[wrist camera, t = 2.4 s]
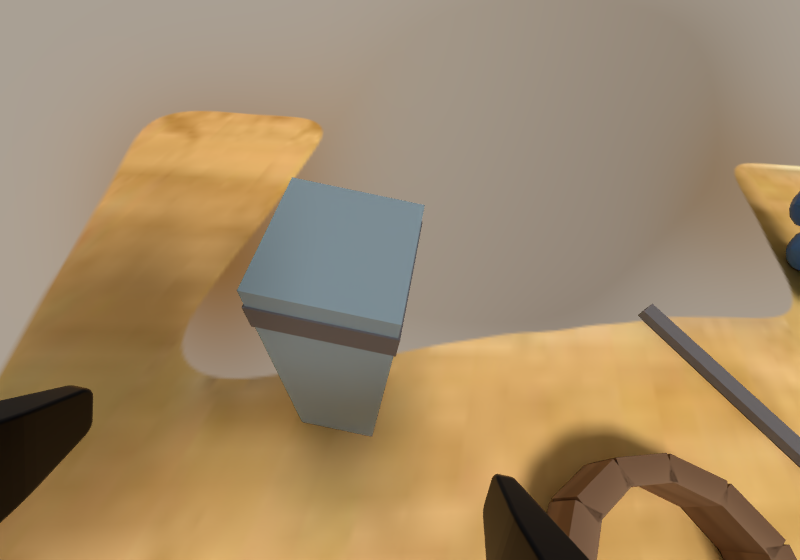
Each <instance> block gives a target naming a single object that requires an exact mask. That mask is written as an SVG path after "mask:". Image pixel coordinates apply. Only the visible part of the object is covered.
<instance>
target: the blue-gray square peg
mask: <svg viewBox="0 0 800 560" xmlns="http://www.w3.org/2000/svg"><path fill="white" fill-rule="evenodd" d="M423 211H424V205H421V204H416V203H412V202H407V201H402V200H398V199H392V198H387V197H383V196H378V195H374V194H369V193H364V192H359V191H354V190H349V189H345V188H340V187H335V186H331V185H325V184H321V183H316V182H312V181H307V180H302V179H297V178H292V179H291V181H290V183H289V185H288V187H287V189H286V191H285V193H284V195H283V197H282V199H281V201H280V203H279V205H278V208H277V210H276V212H275V214H274V216H273V218H272V220H271V222H270V224H269V226H268V228H267V230H266V232H265V234H264V236H263V238H262V240H261V242H260V244H259V246H258V248H257V251H256V253H255V255H254V257H253V259H252V261H251V263H250V265H249V267H248V269H247V271H246V273H245V275H244V277H243V279H242V282H241V283H240V285H239V287H238V289H237V292H238V294H239V296H240V298H241V300H242V302H243V306H242V309H243V311H244V313H245V315H246V317H247V319H248V321H249V323H250V325H251V326H252V327H255V328H256V330H257V332H258V334H259V336H260V338H261V340H262V342H263V344H264V346H265V348H266V350H267V352H268V354H269V356H270V358H271V360H272V362H273V364H274V366H275V368H276V370H277V372H278V374H279V376H280V378H281V380H282V382H283V384H284V386H285V388H286V390H287V392H288V394H289V396H290V398H291V400H292V402H293V404H294V407H295V409H296V411H297V413H298V415H299V417H300V419H301V421H302V422H305V423H310V424H314V425H319V426H324V427H329V428H334V429H338V430H343V431H348V432H353V433H357V434H362V435H367V436H372V435H373V431H374V427H375V424H376V420H377V416H378V412H379V408H380V405H381V401H382V397H383V393H384V390H385V386H386V382H387V378H388V375H389V371H390V367H391V363H392V359H393V356H396V353H397V349H398V345H399V342H400V337H401V332H402V327H403V322H404V316H405V311H406V305H407V300H408V295H409V290H410V285H411V279H412V274H413V269H414V263H415V258H416V253H417V248H418V242H419V237H420V232H421V227H422V216H423Z"/></svg>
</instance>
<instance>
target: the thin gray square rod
mask: <svg viewBox="0 0 800 560" xmlns="http://www.w3.org/2000/svg"><path fill="white" fill-rule="evenodd" d="M638 316H639V317H640V318H641V319H642V320H643V321H645V322H646V323H647V324H648V325H649V326H650V327H651V328H652V329H653V330H654V331H655V332H656V333H657V334H658V335H659V336H661V337H662V338H663V339H664V340H665V341H666V342H667V343H668V344H669V345H670V346H671V347H672V348H673V349H674V350H676V351H677V352H678V353H679V354H680V355H681V356H682V357H683V358H684V359H685V360H686V361H687V362H688V363H689V364H690V365H692V366H693V367H694V368H695V369H696V370H697V371H698V372H699V373H700V374H701V375H702V376H703V377H704V378H705V379H706V380H708V381H709V382H710V383H711V384H712V385H713V386H714V387H715V388H716V389H717V390H718V391H719V392H720V393H721V394H722V395H724V396H725V397H726V398H727V399H728V400H729V401H730V402H731V403H732V404H733V405H734V406H735V407H736V408H737V409H738V410H740V411H741V412H742V413H743V414H744V415H745V416H746V417H747V418H748V419H749V420H750V421H751V422H752V423H753V424H754V425H756V426H757V427H758V428H759V429H760V430H761V431H762V432H763V433H764V434H765V435H766V436H767V437H768V438H769V439H770V440H772V441H773V442H774V443H775V444H776V445H777V446H778V447H779V448H780V449H781V450H782V451H783V452H784V453H785V454H786V455H788V456H789V457H790V458H791V459H792V460H793V461H794V462H795V463H796V464H797V465H798V466H799V467H800V437H799V436H798V435H797V434H796V433H794V432H793V431H792V430H791V429H790V428H789V427H788V426H787V425H786V424H785V423H783V422H782V421H781V420H780V419H779V418H778V417H777V416H776V415H775V414H774V413H772V412H771V411H770V410H769V409H768V408H767V407H766V406H765V405H764V404H762V403H761V402H760V401H759V400H758V399H757V398H756V397H755V396H754V395H753V394H751V393H750V392H749V391H748V390H747V389H746V388H745V387H744V386H743V385H742V384H740V383H739V382H738V381H737V380H736V379H735V378H734V377H733V376H732V375H730V374H729V373H728V372H727V371H726V370H725V369H724V368H723V367H722V366H721V365H719V364H718V363H717V362H716V361H715V360H714V359H713V358H712V357H711V356H710V355H708V354H707V353H706V352H705V351H704V350H703V349H702V348H701V347H700V346H698V345H697V344H696V343H695V342H694V341H693V340H692V339H691V338H690V337H689V336H687V335H686V334H685V333H684V332H683V331H682V330H681V329H680V328H679V327H678V326H676V325H675V324H674V323H673V322H672V321H671V320H670V319H669V318H668V317H666V316H665V315H664V314H663V313H662V312H661V311H660V310H659V309H657V307H655V306H654V305H653V304H652V305H650V306H649V307H647V308H646V309H645V310H644V311H642V312H641V313H640V314H639V315H638Z"/></svg>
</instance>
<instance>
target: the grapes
mask: <svg viewBox="0 0 800 560" xmlns="http://www.w3.org/2000/svg"><path fill="white" fill-rule="evenodd" d="M789 212H790V218H791V219H792V221H793V222H794V224H796V225H798V226H800V192H799V193H798V194H797V195H796V196H795V197H794V199H793V200H792V202H791V205H790V208H789ZM786 260H787V261H788V263H789V264H790V265H791V267H793V268H795V269H797V270H799V271H800V233H798V234H796V235H795V236H794V238H793V239H792V240H791V241H790V242H789V244H788V245H787V248H786Z"/></svg>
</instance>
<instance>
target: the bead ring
mask: <svg viewBox="0 0 800 560" xmlns="http://www.w3.org/2000/svg"><path fill="white" fill-rule="evenodd" d="M637 486H639V487H641V488H643V489H645V490H647V491H649V492H651V493H653V494H655V495H657V496H659V497H661V498H663V499H665V500H667V501H670V502H672V503H674V504H676V505H678V506H680V507H681V508H682V509H683V510H684V511H685V512H686V513H687V514H688V515H689V517H690V518H691V519H692V520H693V521H694V522H695V523H696V524H697V526H698V527H699V528H700V529H701V530H702V531H703V532H704V533H705V534H706V536H707V537H708V538H709V539H710V540H711V541H712V542H713V543H714V545H715V546H716V547H717V548H718V549H719V550H720V552H721V554H722V557H723V559H724V560H797V559H796V557H795V555H794V553H793V551H792V549H791V547H790V545H785V544H784V542H785V539H784V538H783V537H782V536H781V535H780V534H779V532H778V531H777V530H776V529H775V528H774V527H773V526H772V525H771V524H770V523H769V522H768V521H767V520H766V519H765V518H764V517H763V516H762V515H761V514H760V513H759V512H758V511H757V510H756V509H755V508H754V507H753V506H752V505H751V504H750V503H749V502H748V501H747V500H746V499H745V498H744V497H743V495H742V494H741V493H740V492H739V491H738V490H737V489H736V488H735V487H734V486H733V485H732V484H727V481H726V480H724V479H722V478H720V477H718V476H716V475H714V474H712V473H710V472H708V471H705V470H703V469H701V468H699V467H697V466H695V465H693V464H691V463H689V462H686V461H684V460H682V459H680V458H678V457H676V456H674V455H672V454H667V453H662V454H650V455H639V456H628V457H617V458H612V459H608V460H603V461H599V462H594V463H590V464H588V465H584V466H583V467H582V468H581V469H580V470H579V471H578V472H577V473H576V474H575V475H574V476H573V477H572V478H571V479H570V480H569V481H568V482H567V483H566V484H565V485H564V486H563V487H562V488H561V489H560V490H559V491H558V492H557V493H556V494H555V495H554V496H553V497H552V498H551V499H552V500H553V502H549V507H548V512H547V514H548V515H549V516H550V517H551V518H552V520H553V521H554V522H555V523H556V524H557V525H558V526H559V527H560V528H561V529H562V530H563V531H564V532H565V534H566V535H567V536H568V537H569V538H570V539H571V540H572V541H573V542H574V543H575V544H576V545H577V546H578V548H579V549H580V550H581V551H582V552H583V553H584V554H585V555H586V556H587V557H588V558H589V559H590V560H597V554H598V546H599V538H600V531H601V523H602V519H603V518H604V517H605V516H606V515H607V513H608V512H609V511H610V510H611V509H612V508H613V507H614V506H615V504H616V503H617V502H618V501H619V500H620V499H621V498H622V497H623V496H624V494H625V493H626V492H627V491H628V490H629V489H630V488H631V487H637Z"/></svg>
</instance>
